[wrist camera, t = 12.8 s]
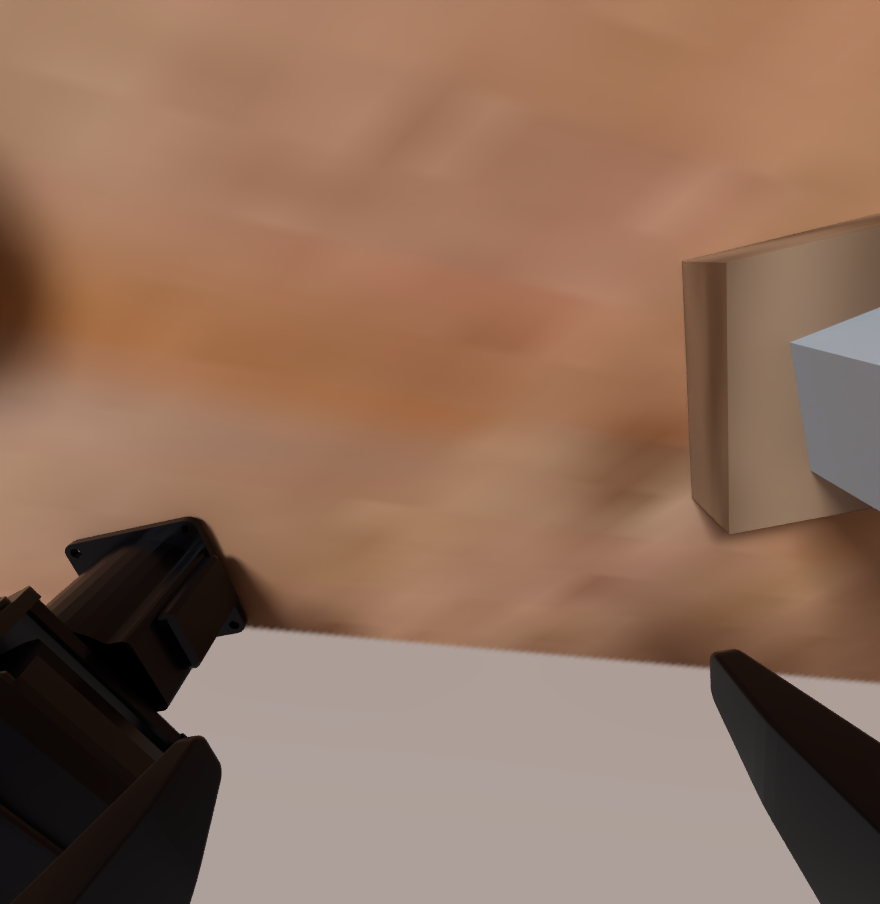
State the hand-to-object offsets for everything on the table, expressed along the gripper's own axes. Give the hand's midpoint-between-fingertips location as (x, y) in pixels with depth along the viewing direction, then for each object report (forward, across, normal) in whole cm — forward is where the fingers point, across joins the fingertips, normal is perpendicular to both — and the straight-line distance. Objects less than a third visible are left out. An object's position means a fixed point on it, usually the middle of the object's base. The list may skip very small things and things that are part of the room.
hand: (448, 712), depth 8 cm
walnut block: (+13, -15, 0) cm, 20 cm away
